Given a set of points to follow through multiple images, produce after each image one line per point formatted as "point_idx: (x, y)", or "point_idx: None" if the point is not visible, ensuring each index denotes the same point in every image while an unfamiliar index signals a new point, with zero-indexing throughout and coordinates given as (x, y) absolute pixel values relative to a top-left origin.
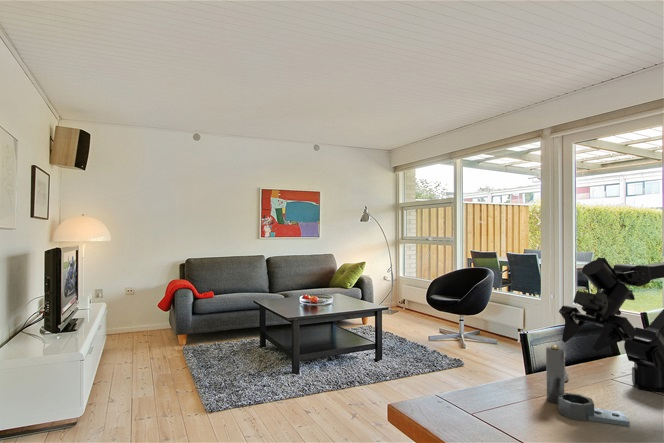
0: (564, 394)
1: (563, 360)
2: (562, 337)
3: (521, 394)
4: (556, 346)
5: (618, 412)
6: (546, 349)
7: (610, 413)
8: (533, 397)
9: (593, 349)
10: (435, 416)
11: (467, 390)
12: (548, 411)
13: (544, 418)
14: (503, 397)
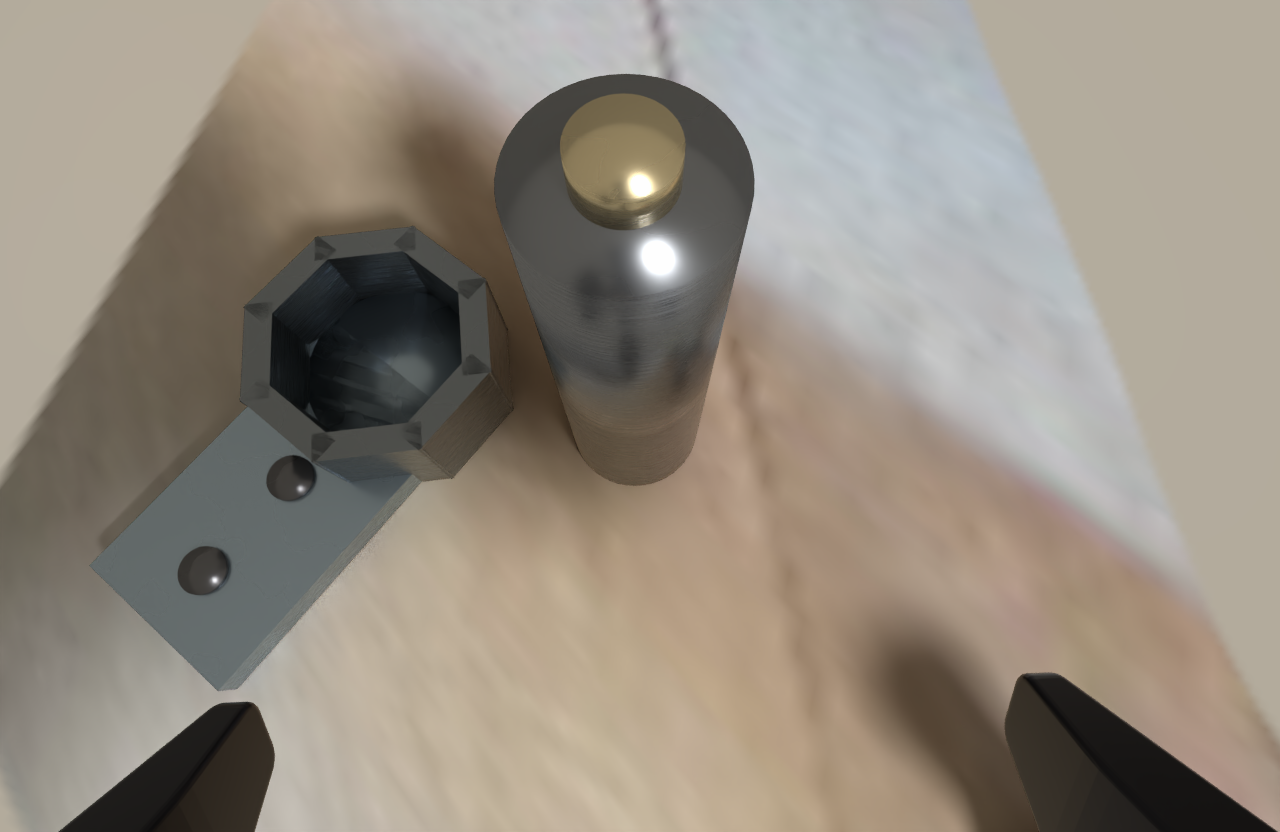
0: (467, 326)
1: (528, 302)
2: (1104, 709)
3: (804, 277)
4: (588, 146)
5: (226, 640)
6: (679, 92)
7: (240, 557)
8: (733, 318)
9: (230, 704)
10: None
11: (943, 6)
12: (502, 247)
13: (431, 157)
14: (782, 135)
